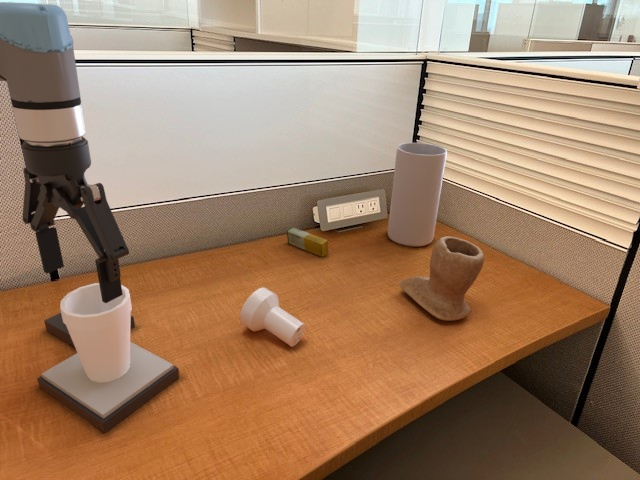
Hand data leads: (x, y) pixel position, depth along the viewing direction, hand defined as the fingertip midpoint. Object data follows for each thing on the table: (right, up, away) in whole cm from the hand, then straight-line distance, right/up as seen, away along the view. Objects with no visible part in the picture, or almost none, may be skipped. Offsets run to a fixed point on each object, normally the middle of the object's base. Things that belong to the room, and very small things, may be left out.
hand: (82, 283), depth 70 cm
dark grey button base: (-8, -10, +19) cm, 23 cm away
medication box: (+31, +4, +53) cm, 62 cm away
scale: (+1, -17, +7) cm, 18 cm away
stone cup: (+60, -8, +33) cm, 69 cm away
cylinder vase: (+60, +7, +63) cm, 87 cm away
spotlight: (+26, -12, +21) cm, 35 cm away
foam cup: (+1, -14, +6) cm, 15 cm away
